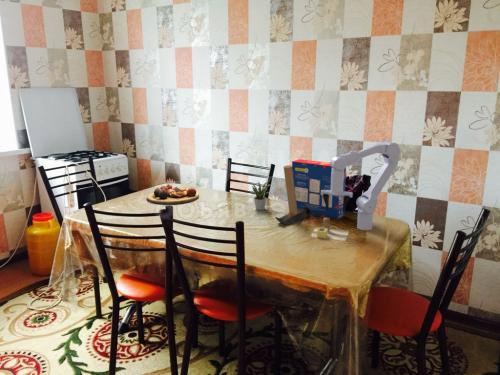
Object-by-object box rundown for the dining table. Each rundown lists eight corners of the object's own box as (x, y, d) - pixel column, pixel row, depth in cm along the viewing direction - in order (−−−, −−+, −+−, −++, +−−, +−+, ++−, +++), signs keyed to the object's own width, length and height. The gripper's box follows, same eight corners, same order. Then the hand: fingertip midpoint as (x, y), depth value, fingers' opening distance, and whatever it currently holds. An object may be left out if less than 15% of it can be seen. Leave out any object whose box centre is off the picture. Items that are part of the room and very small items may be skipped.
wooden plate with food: (209, 196, 274) (209, 183, 272) (175, 207, 247) (174, 193, 246) (171, 190, 290) (171, 178, 289) (136, 201, 264) (135, 187, 262)
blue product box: (343, 216, 230) (346, 164, 224) (337, 219, 224) (339, 167, 217) (298, 207, 247) (299, 159, 240) (291, 210, 241) (292, 161, 234)
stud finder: (318, 233, 201) (319, 227, 200) (327, 234, 200) (327, 228, 199) (316, 237, 197) (317, 230, 196) (325, 238, 195) (325, 231, 195)
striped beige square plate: (315, 228, 210) (315, 227, 210) (349, 232, 205) (349, 230, 205) (309, 238, 197) (309, 236, 197) (345, 242, 192) (345, 241, 192)
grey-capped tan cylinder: (323, 229, 207) (323, 217, 206) (329, 230, 206) (330, 218, 205) (322, 231, 204) (322, 219, 203) (328, 232, 203) (329, 219, 202)
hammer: (283, 229, 216) (275, 173, 205) (276, 227, 220) (268, 172, 209) (310, 215, 227) (304, 161, 217) (303, 213, 231) (297, 159, 220)
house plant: (275, 205, 251) (275, 177, 247) (274, 212, 237) (274, 183, 233) (251, 204, 252) (250, 177, 248) (248, 211, 239) (248, 183, 235)
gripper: (320, 183, 200) (318, 211, 203) (351, 185, 195) (350, 214, 198) (322, 179, 206) (321, 207, 210) (353, 182, 202) (351, 210, 205)
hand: (335, 210), depth 205 cm, fingers open, 7 cm apart
